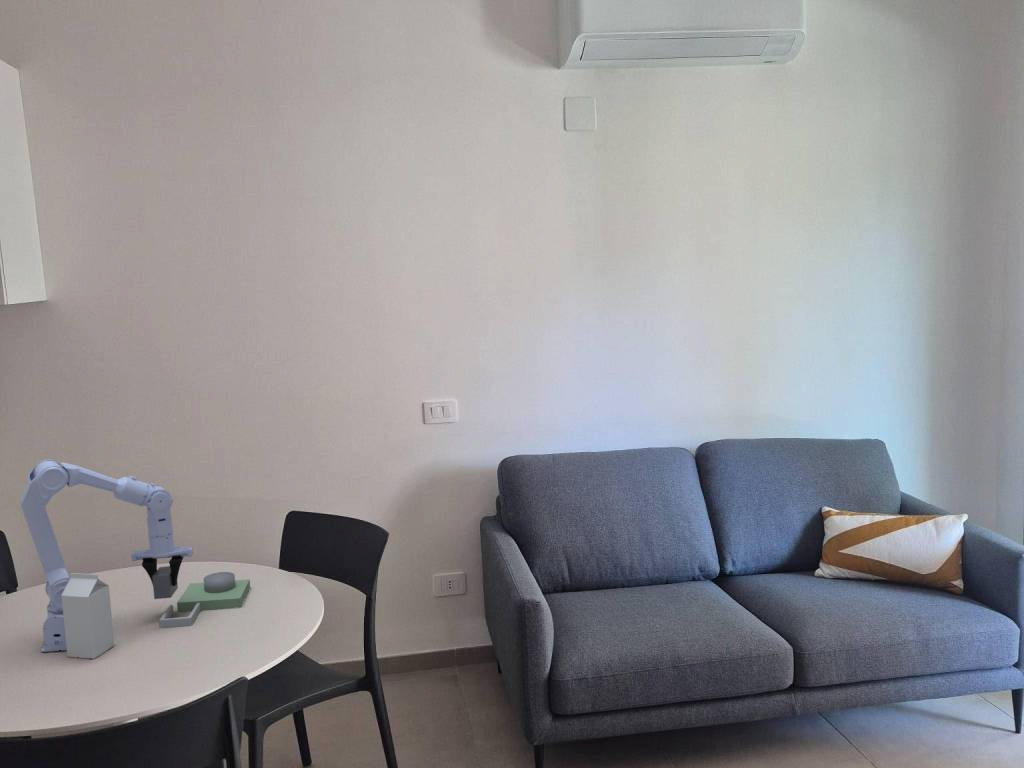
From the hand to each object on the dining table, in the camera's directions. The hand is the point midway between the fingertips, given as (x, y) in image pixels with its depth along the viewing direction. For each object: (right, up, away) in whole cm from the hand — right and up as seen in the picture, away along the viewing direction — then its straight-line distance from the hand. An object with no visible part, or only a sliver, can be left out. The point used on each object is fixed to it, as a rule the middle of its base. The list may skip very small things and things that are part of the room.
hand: (165, 585), depth 216 cm
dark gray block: (0, -2, +1) cm, 2 cm away
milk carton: (-10, -12, -18) cm, 24 cm away
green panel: (+8, -7, +7) cm, 13 cm away
